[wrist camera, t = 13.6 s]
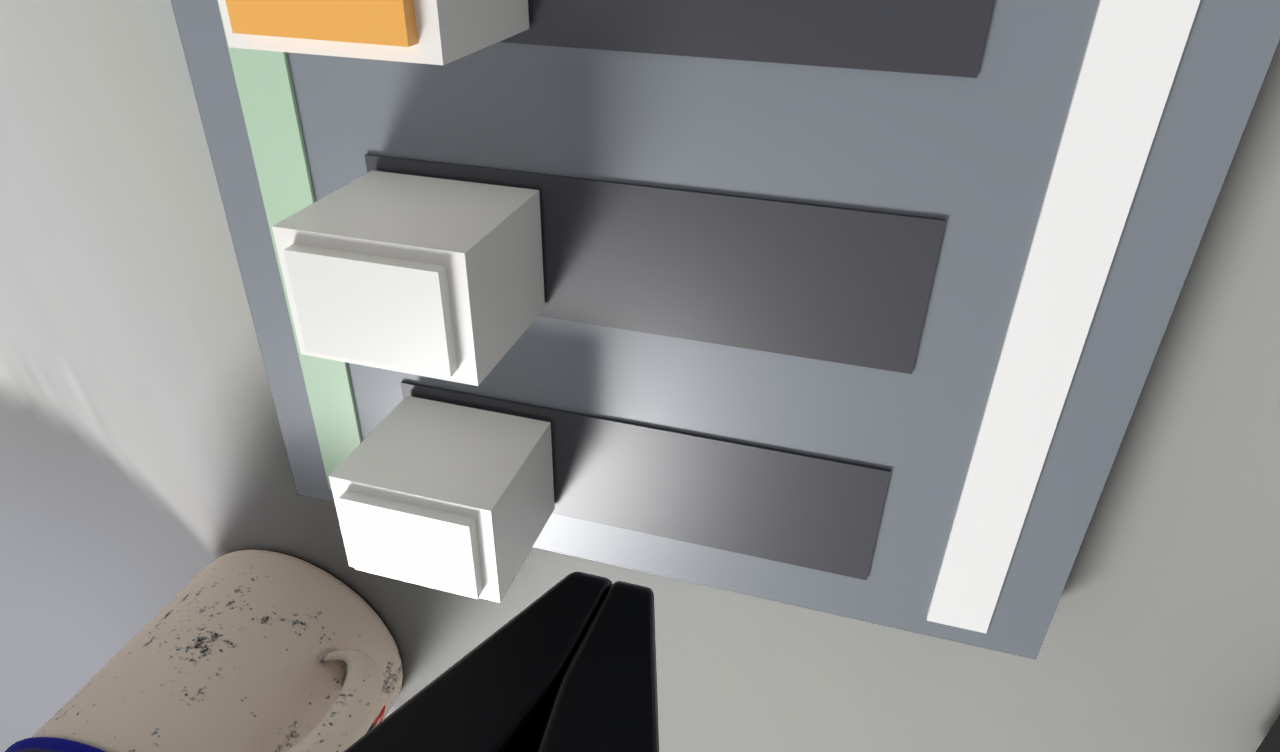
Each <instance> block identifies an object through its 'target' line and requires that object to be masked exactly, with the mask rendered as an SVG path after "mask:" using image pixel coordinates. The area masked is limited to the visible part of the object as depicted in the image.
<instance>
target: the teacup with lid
mask: <svg viewBox="0 0 1280 752" xmlns="http://www.w3.org/2000/svg"><path fill="white" fill-rule="evenodd" d="M402 679H403V669H402V662H401V658H400V654H399V651H398V648H397V645H396V643H395V641H394V639H393V637H392V635H391V634H390V632H389V630H388V629H387V627H386V626H385V624H384V623H383V621H382V620H381V619H380V617H379V616H378V615H377V614H376V613H375V611H374V610H373V609H372V608H371V607H370V606H369V605H368V604H367V603H366V602H365V601H364V600H363V599H362V598H361V597H360V596H359V595H358V594H357V593H355V592H354V591H353V590H352V589H351V588H349V587H348V586H347V585H345V584H344V583H343V582H341V581H340V580H338V579H337V578H335V577H334V576H332V575H331V574H329V573H327V572H326V571H324V570H322V569H320V568H318V567H316V566H314V565H312V564H310V563H308V562H305V561H303V560H301V559H298V558H295V557H292V556H289V555H285V554H282V553H278V552H273V551H266V550H240V551H235V552H231V553H228V554H225V555H223V556H220V557H218V558H217V559H215V560H214V561H212V562H211V563H210V564H208V565H207V566H206V567H205V568H204V569H203V570H202V571H201V572H200V573H199V574H198V575H197V576H196V577H195V578H194V579H193V580H192V581H191V582H190V583H189V584H188V585H187V586H186V587H185V588H184V589H183V590H182V591H181V592H180V593H179V594H178V595H177V596H176V597H175V598H174V599H173V600H172V601H171V602H170V603H169V604H168V605H167V606H166V607H164V608H163V609H162V610H161V611H160V612H159V613H158V614H157V615H156V616H155V617H154V618H153V619H152V620H151V621H150V622H149V623H148V624H147V625H146V626H145V627H144V628H143V629H142V630H141V631H140V632H139V633H138V634H137V635H136V636H135V637H134V638H133V639H132V640H131V641H130V642H129V643H128V644H127V645H126V646H125V647H124V648H122V649H121V650H120V651H119V652H118V653H117V655H115V656H114V657H113V658H112V659H111V660H110V662H108V663H107V664H106V665H105V666H104V667H103V668H102V669H101V670H100V671H99V672H98V673H97V674H96V675H95V676H94V677H93V678H92V679H91V680H90V681H89V682H88V683H87V684H86V685H85V686H84V687H83V688H82V689H81V690H80V691H79V692H78V693H77V694H76V695H74V696H73V698H71V699H70V700H69V701H68V702H67V703H66V704H65V705H64V706H63V707H62V708H61V709H60V710H59V711H58V712H57V713H56V714H55V715H54V716H53V717H52V718H51V719H50V720H49V721H48V722H47V723H46V724H45V725H44V726H43V727H42V728H41V729H40V730H39V731H38V732H37V733H36V734H35V735H34V736H32V737H31V738H27V739H24V740H21V741H18V742H16V743H15V744H13V745H11V746H10V747H9V748H8V749H7V750H6V751H5V752H343V751H345V750H346V749H347V748H348V747H350V746H351V745H352V744H354V743H355V742H356V741H357V740H359V739H360V738H361V737H362V736H364V735H365V734H366V733H368V732H369V731H370V730H371V729H373V728H374V727H375V726H376V725H378V724H379V723H380V722H382V721H383V720H384V718H385V717H386V715H387V713H388V712H389V710H390V709H391V707H392V706H393V704H394V702H395V701H396V699H397V697H398V695H399V692H400V690H401V686H402Z"/></svg>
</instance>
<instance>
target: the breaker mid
mask: <svg viewBox="0 0 1280 752" xmlns="http://www.w3.org/2000/svg"><path fill="white" fill-rule="evenodd" d="M272 230H273V234H274V239H275V243H276V247H277V252H278V256H279V261H280V265H281V269H282V274H283V278H284V282H285V287H286V291H287V296H288V300H289V304H290V309H291V313H292V318H293V322H294V326H295V331H296V335H297V340H298V344H299V348H300V353H301V354H302V355H308V356H313V357H319V358H325V359H330V360H336V361H341V362H347V363H352V364H358V365H364V366H369V367H375V368H380V369H386V370H392V371H397V372H403V373H408V374H414V375H419V376H425V377H431V378H436V379H442V380H447V381H453V382H459V383H464V384H470V385H475V386H479V384H480V383H481V382H482V381H483V380H484V379H485V377H486V376H487V375H488V374H489V373H490V372H491V370H492V369H493V368H494V367H495V366H496V365H497V363H498V362H499V361H500V360H501V359H502V358H503V356H504V355H505V354H506V353H507V352H508V351H509V349H510V348H511V347H512V346H513V345H514V344H515V342H516V341H517V340H518V339H519V338H520V337H521V335H522V334H523V333H524V332H525V331H526V330H527V328H528V327H529V326H530V325H531V324H532V323H533V321H534V320H535V319H536V318H537V317H538V316H539V314H540V313H541V312H542V311H543V310H544V309H545V299H544V278H543V258H542V237H541V217H540V197H539V190H534V189H525V188H517V187H508V186H500V185H491V184H483V183H475V182H466V181H458V180H449V179H441V178H432V177H424V176H415V175H407V174H398V173H390V172H381V171H373V170H372V171H370V172H368V173H366V174H365V175H363V176H361V177H359V178H357V179H356V180H354V181H352V182H350V183H349V184H347V185H345V186H343V187H341V188H340V189H338V190H336V191H334V192H332V193H331V194H329V195H327V196H325V197H323V198H322V199H320V200H318V201H316V202H314V203H313V204H311V205H309V206H307V207H306V208H304V209H302V210H300V211H298V212H297V213H295V214H293V215H291V216H289V217H288V218H286V219H284V220H282V221H280V222H279V223H277V224H275V225H273V226H272Z"/></svg>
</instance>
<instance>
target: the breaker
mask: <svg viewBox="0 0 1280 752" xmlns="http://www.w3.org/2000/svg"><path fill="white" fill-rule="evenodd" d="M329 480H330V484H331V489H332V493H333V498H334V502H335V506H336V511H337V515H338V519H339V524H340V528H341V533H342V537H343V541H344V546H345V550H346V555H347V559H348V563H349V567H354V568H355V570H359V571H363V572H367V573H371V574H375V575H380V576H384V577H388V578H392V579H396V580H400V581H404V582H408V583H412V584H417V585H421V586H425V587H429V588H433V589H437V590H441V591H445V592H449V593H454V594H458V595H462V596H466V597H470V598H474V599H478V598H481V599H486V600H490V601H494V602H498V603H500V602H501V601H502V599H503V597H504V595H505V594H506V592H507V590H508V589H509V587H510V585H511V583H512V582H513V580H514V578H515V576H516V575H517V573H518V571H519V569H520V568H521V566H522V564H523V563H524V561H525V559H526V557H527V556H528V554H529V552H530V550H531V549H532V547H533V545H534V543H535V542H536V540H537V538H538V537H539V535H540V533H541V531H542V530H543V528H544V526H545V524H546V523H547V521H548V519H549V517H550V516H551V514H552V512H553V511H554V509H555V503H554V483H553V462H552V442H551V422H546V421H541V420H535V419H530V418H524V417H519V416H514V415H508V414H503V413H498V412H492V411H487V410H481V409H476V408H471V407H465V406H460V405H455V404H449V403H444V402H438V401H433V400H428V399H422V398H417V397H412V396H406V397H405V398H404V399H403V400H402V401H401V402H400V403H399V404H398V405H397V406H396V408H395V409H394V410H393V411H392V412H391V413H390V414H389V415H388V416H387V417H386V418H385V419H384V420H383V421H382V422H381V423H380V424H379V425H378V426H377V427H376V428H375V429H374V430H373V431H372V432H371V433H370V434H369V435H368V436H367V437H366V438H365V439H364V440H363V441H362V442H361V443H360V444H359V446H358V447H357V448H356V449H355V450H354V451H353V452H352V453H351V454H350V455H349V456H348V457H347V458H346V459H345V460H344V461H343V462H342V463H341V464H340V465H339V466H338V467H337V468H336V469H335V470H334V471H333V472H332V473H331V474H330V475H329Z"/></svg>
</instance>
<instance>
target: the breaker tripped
mask: <svg viewBox="0 0 1280 752" xmlns="http://www.w3.org/2000/svg"><path fill="white" fill-rule="evenodd" d="M218 2H219V6H220V11H221V15H222V19H223V24H224V28H225V32H226V37H227V41H228V45H229V47H230V48H242V49H254V50H265V51H277V52H289V53H301V54H313V55H325V56H337V57H349V58H361V59H373V60H385V61H397V62H409V63H421V64H433V65H445V64H448V63H450V62H452V61H455V60H457V59H460V58H462V57H464V56H467V55H469V54H471V53H474V52H476V51H478V50H481V49H483V48H486V47H488V46H490V45H493V44H495V43H497V42H500V41H502V40H504V39H507V38H509V37H512V36H514V35H516V34H519V33H521V32H523V31H526V30H528V29H529V12H528V0H218Z"/></svg>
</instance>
